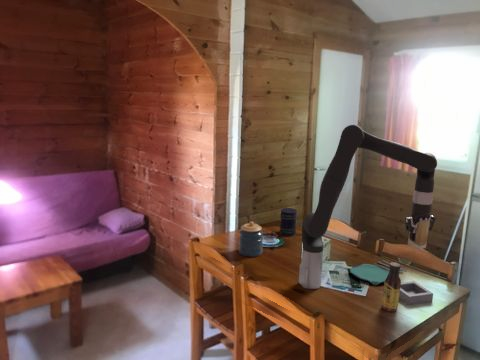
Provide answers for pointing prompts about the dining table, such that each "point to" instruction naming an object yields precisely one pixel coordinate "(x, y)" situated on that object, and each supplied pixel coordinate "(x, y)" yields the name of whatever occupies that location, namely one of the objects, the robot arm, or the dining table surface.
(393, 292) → the sauce bottle
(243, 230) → the canister
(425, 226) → the skincare box
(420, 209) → the robot arm
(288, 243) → the dining table surface
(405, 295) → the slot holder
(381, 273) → the teal flat sheet
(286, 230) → the storage jar
